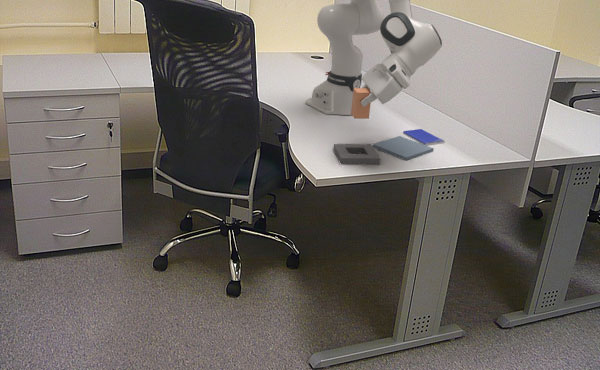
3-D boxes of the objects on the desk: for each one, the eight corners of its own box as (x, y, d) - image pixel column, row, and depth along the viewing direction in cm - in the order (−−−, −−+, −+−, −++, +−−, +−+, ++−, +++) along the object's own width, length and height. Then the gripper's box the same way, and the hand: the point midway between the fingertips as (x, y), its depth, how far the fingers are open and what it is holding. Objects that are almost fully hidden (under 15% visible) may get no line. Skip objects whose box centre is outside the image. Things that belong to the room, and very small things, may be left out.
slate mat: (372, 146, 210) (372, 144, 210) (399, 138, 219) (399, 135, 219) (406, 160, 201) (406, 157, 201) (433, 151, 210) (433, 148, 210)
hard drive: (444, 140, 218) (421, 128, 228) (425, 142, 214) (403, 130, 224) (444, 144, 218) (421, 132, 228) (424, 147, 215) (402, 135, 224)
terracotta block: (354, 118, 194) (356, 92, 190) (350, 113, 198) (353, 88, 194) (368, 118, 194) (371, 92, 191) (365, 113, 198) (368, 88, 195)
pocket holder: (340, 164, 195) (341, 158, 194) (333, 149, 206) (333, 143, 205) (379, 164, 197) (380, 158, 196) (370, 150, 208) (370, 144, 207)
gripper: (379, 53, 200) (345, 84, 202) (398, 71, 181) (360, 104, 184) (392, 68, 202) (358, 98, 205) (411, 87, 184) (374, 119, 186)
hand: (359, 101), depth 194 cm, fingers closed on terracotta block, 4 cm apart
